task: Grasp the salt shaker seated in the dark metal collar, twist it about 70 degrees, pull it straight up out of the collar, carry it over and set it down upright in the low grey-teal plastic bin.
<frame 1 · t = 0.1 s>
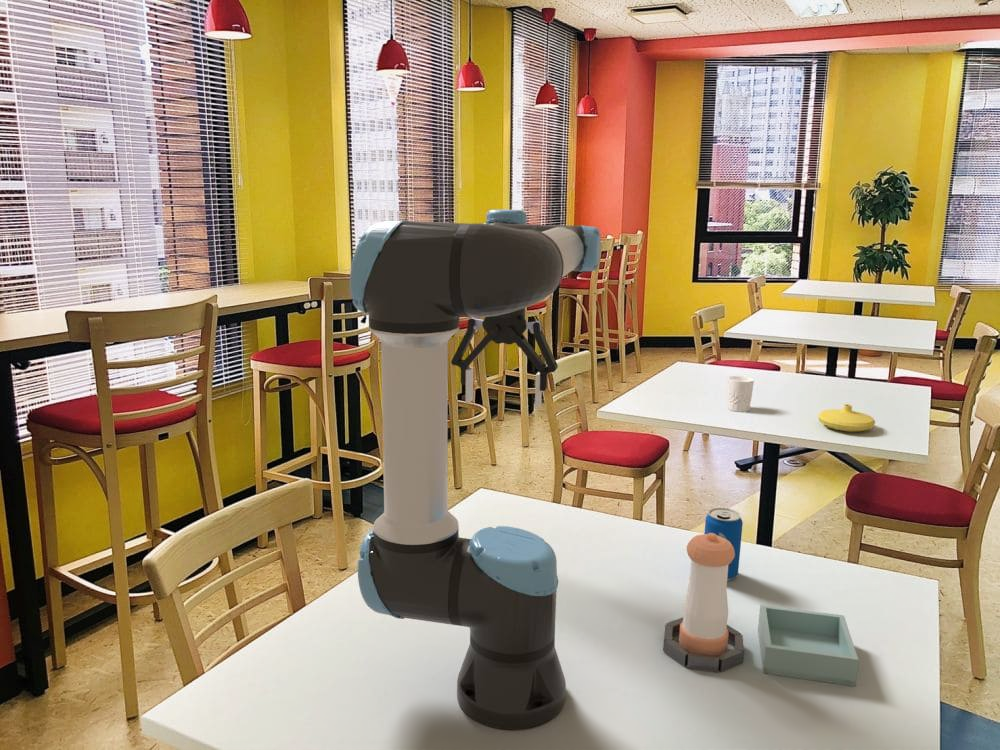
hand: (503, 404, 157), 28 cm above the table, fingers open, 13 cm apart
bin: (803, 655, 125), on the table
collar: (702, 648, 126), on the table
salt shaker: (702, 649, 126), resting in collar
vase: (845, 429, 242), on the table
beverage can: (719, 575, 150), on the table
white cup: (738, 409, 260), on the table
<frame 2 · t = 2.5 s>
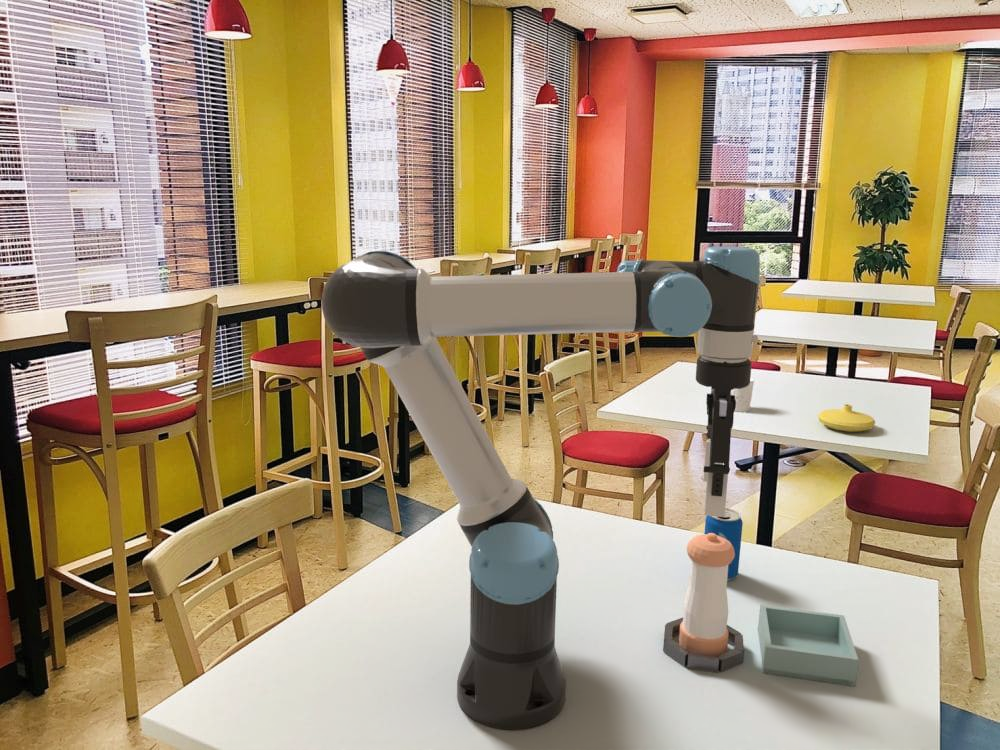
hand: (713, 497, 121), 25 cm above the table, fingers open, 13 cm apart
nothing on the table moved.
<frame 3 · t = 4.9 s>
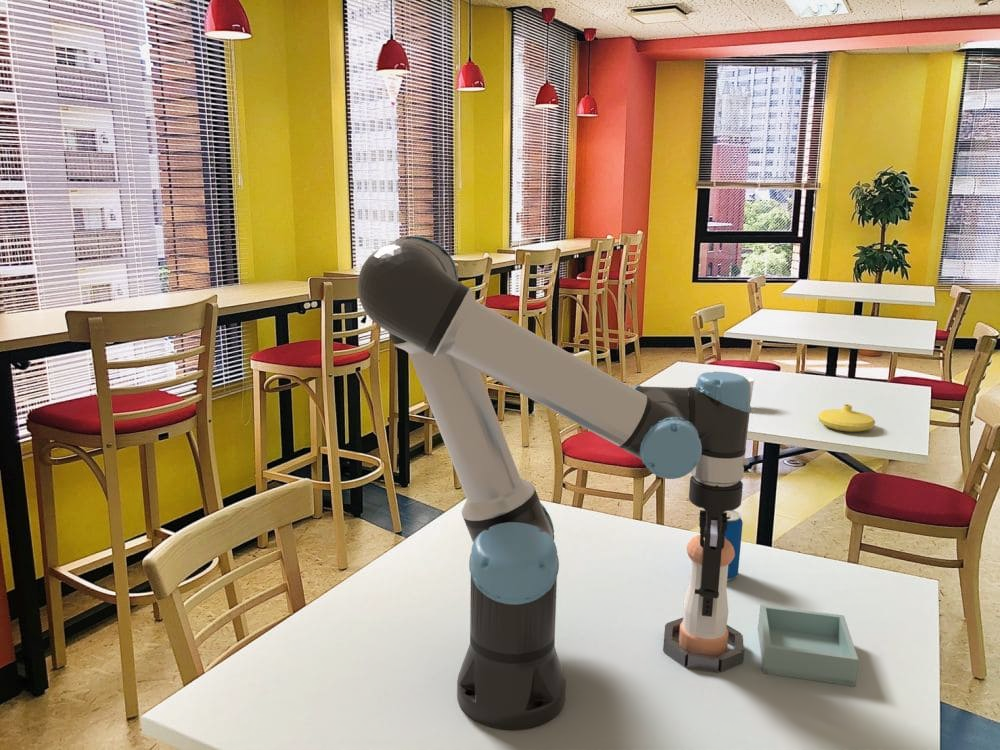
hand: (704, 619, 125), 5 cm above the table, fingers closed on salt shaker, 7 cm apart
salt shaker: (702, 649, 126), resting in collar, touching gripper
everything else where it was.
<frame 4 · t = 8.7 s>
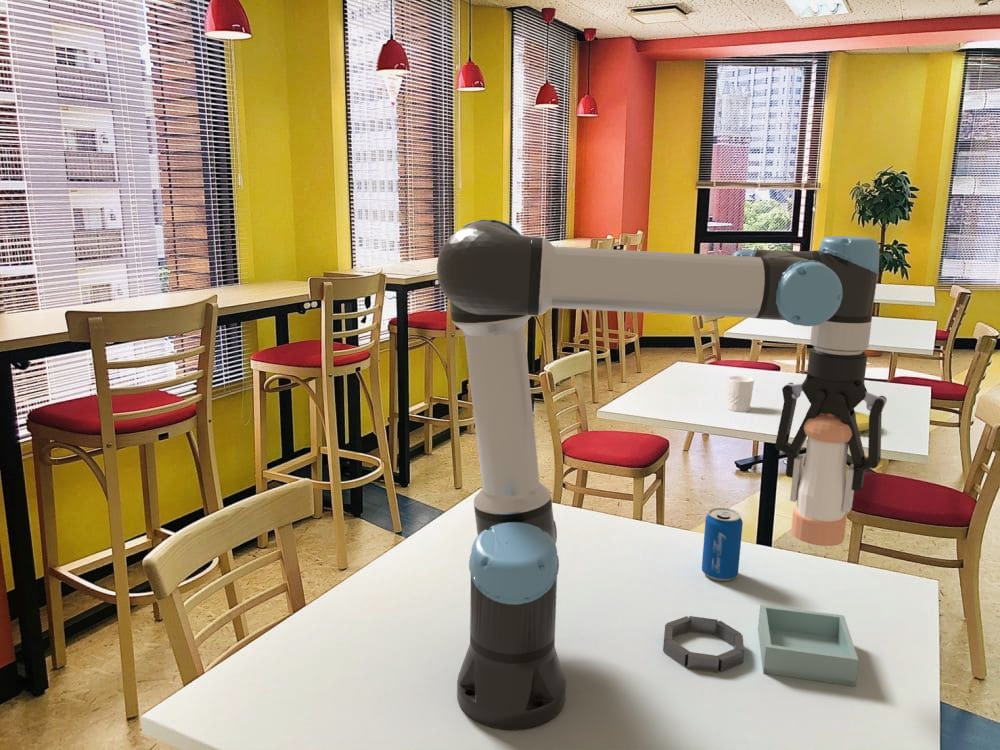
hand: (820, 503, 119), 25 cm above the table, fingers closed on salt shaker, 7 cm apart
salt shaker: (816, 536, 120), point 20 cm above the table, touching gripper
everything else where it was.
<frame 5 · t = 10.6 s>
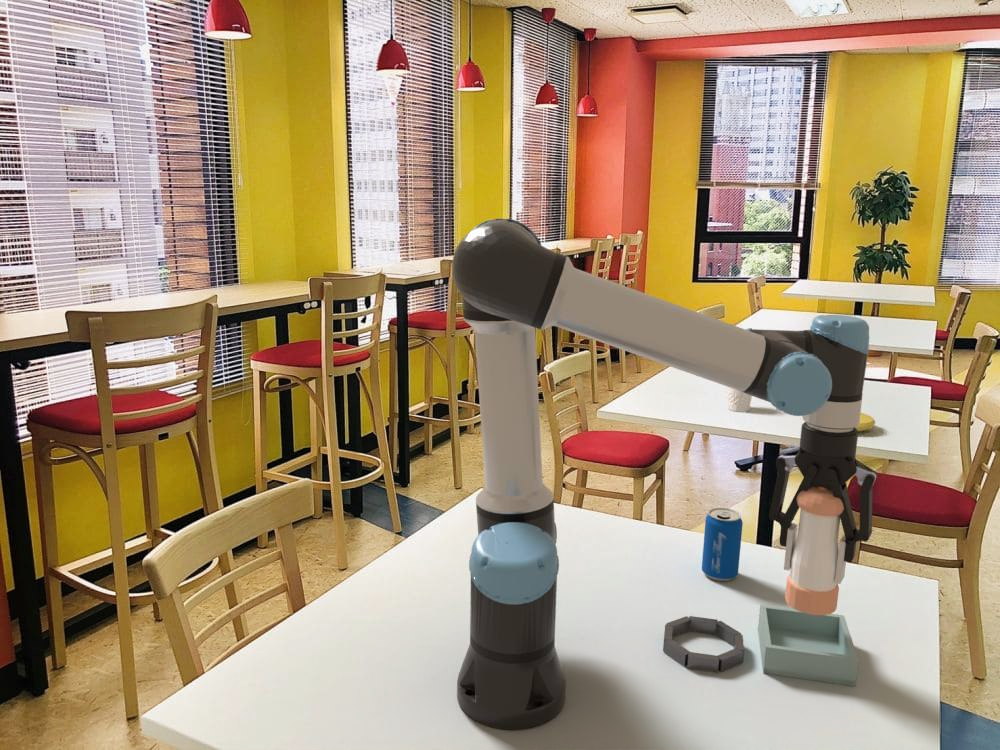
hand: (813, 572, 121), 14 cm above the table, fingers closed on salt shaker, 7 cm apart
salt shaker: (810, 604, 123), point 9 cm above the table, touching gripper
everything else where it was.
when the fingers open (7 cm above the table, at t = 12.3 s): salt shaker drops 1 cm, resting on bin.
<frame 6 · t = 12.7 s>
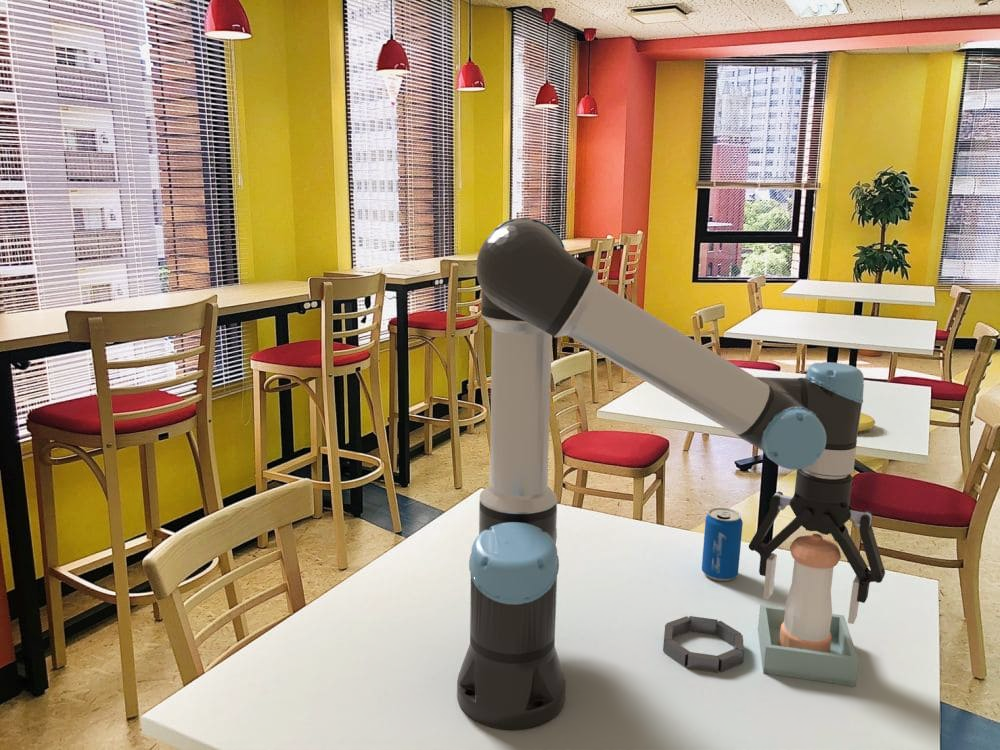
hand: (809, 607, 123), 8 cm above the table, fingers open, 11 cm apart
salt shaker: (803, 652, 125), point 1 cm above the table, touching bin
everything else where it was.
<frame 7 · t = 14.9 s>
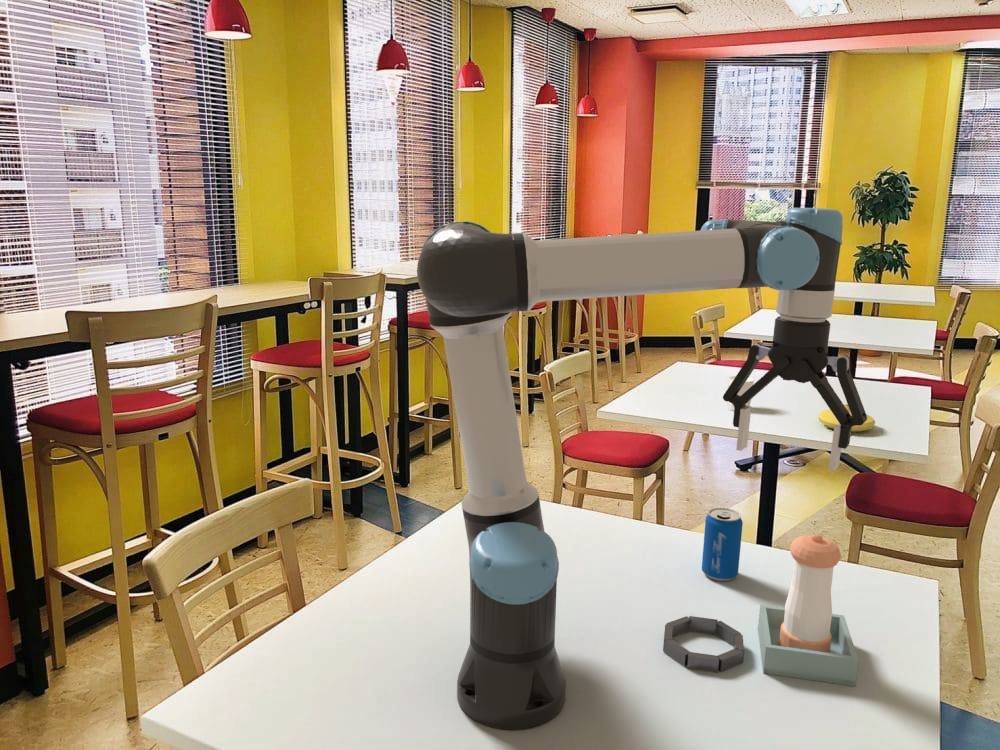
hand: (786, 458, 122), 30 cm above the table, fingers open, 13 cm apart
nothing on the table moved.
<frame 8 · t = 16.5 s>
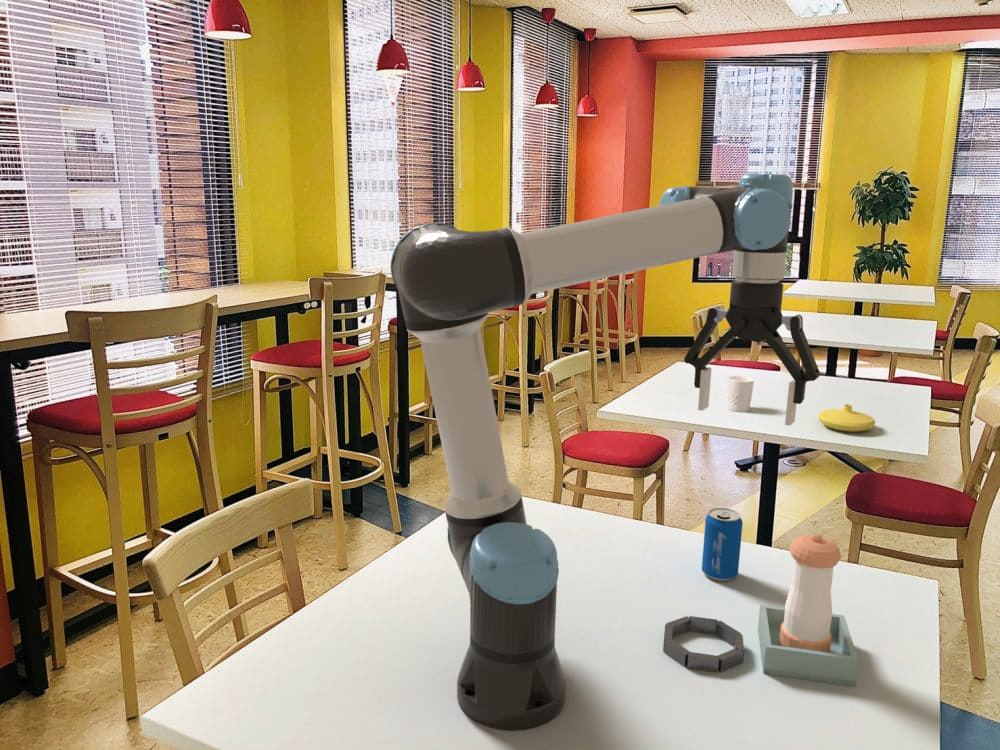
hand: (745, 415, 128), 35 cm above the table, fingers open, 13 cm apart
nothing on the table moved.
at the end: salt shaker inside the target area on the bin (0.0 cm from its centre), point 0.6 cm above the bin's base; salt shaker tilted 0°; the gripper is holding nothing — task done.
